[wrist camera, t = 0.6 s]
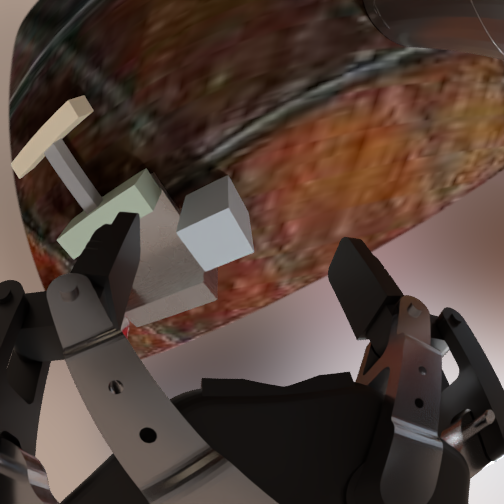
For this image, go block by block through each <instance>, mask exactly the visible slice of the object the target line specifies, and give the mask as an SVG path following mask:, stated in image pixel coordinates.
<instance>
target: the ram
mask: <svg viewBox="0 0 504 504" xmlns="http://www.w3.org/2000/svg"><path fill="white" fill-rule="evenodd" d="M92 112H93V109H92V107H91V106H90V104H89V102H88V101H87V99H86V97H85V95H83V96H80V97H76V98H73V99H70V100H68V101H67V102H66V103H65V104H64V105H63V106H62V107H60V108H59V109H58V110H57V111H56V112H55V113H54V114H53V115H52V117H51V118H50V119H49V120H48V121H47V122H46V123H45V124H44V125H43V126H42V127H41V128H40V129H39V130H38V132H37V133H36V134H35V135H34V136H33V137H32V138H31V140H30V141H29V142H28V143H27V144H26V146H25V147H24V148H23V149H22V150H21V152H20V153H19V154H18V156H17V157H16V158H15V159H14V161H13V162H12V163H11V166H12V168H13V170H14V171H15V173H16V174H17V176H18V177H19V179H20V178H22V177H23V176H24V175H25V174H27V173H28V172H29V171H31V170H32V169H33V168H35V166H36V165H37V164H38V163H39V162H40V161H41V160H42V159H43V158H44V157H45V156H46V157H47V159H48V160H49V162H50V163H51V165H52V166H53V168H54V169H55V171H56V172H57V174H58V175H59V177H60V178H61V179H62V181H63V182H64V184H65V185H66V187H67V188H68V189H69V191H70V192H71V193H72V195H73V196H74V198H75V199H76V200H77V202H78V203H79V204H80V206H81V207H82V208H83V210H84V211H83V212H81V213H80V214H79V215H77V216H76V217H75V218H73V219H72V220H71V221H70V223H69V224H68V225H67V226H66V228H65V229H64V231H63V232H62V233H61V235H60V236H59V237H58V239H57V241H58V242H59V243H60V245H61V246H62V247H63V248H64V249H65V250H66V252H67V253H68V254H69V255H70V256H71V257H72V258H73V259H75V258H76V257H78V256H79V255H81V253H82V251H83V250H84V248H85V246H86V245H87V243H88V241H90V238H91V237H92V235H93V233H94V232H95V230H97V229H98V228H100V227H101V226H102V225H104V224H112V222H113V221H114V219H115V217H116V216H117V214H118V213H119V212H132V213H139V216H140V218H142V217H144V216H145V215H147V214H149V213H151V212H153V210H154V208H155V206H156V204H157V202H158V199H159V197H160V195H161V193H162V191H161V189H160V188H159V187H158V185H157V184H156V182H155V181H154V179H153V178H152V176H151V174H150V173H149V171H148V170H147V168H146V169H144V170H142V171H141V172H139V173H138V174H136V175H134V176H133V177H131V178H130V179H128V180H127V181H125V182H124V183H122V184H121V185H119V186H118V187H116V188H115V189H113V190H112V191H110V192H109V193H107V194H106V195H104V196H103V197H101V196H100V194H99V193H98V191H97V190H96V189H95V187H94V186H93V184H92V183H91V182H90V180H89V179H88V177H87V176H86V174H85V173H84V172H83V170H82V169H81V167H80V166H79V164H78V163H77V161H76V160H75V158H74V157H73V155H72V154H71V152H70V151H69V149H68V148H67V146H66V144H65V143H64V141H63V140H62V139H63V138H64V137H65V136H66V135H67V134H68V133H69V132H70V131H71V130H72V129H73V128H74V127H76V126H77V125H78V124H79V123H80V122H81V121H82V120H84V119H85V118H86V117H87V116H88V115H89V114H91V113H92Z"/></svg>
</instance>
